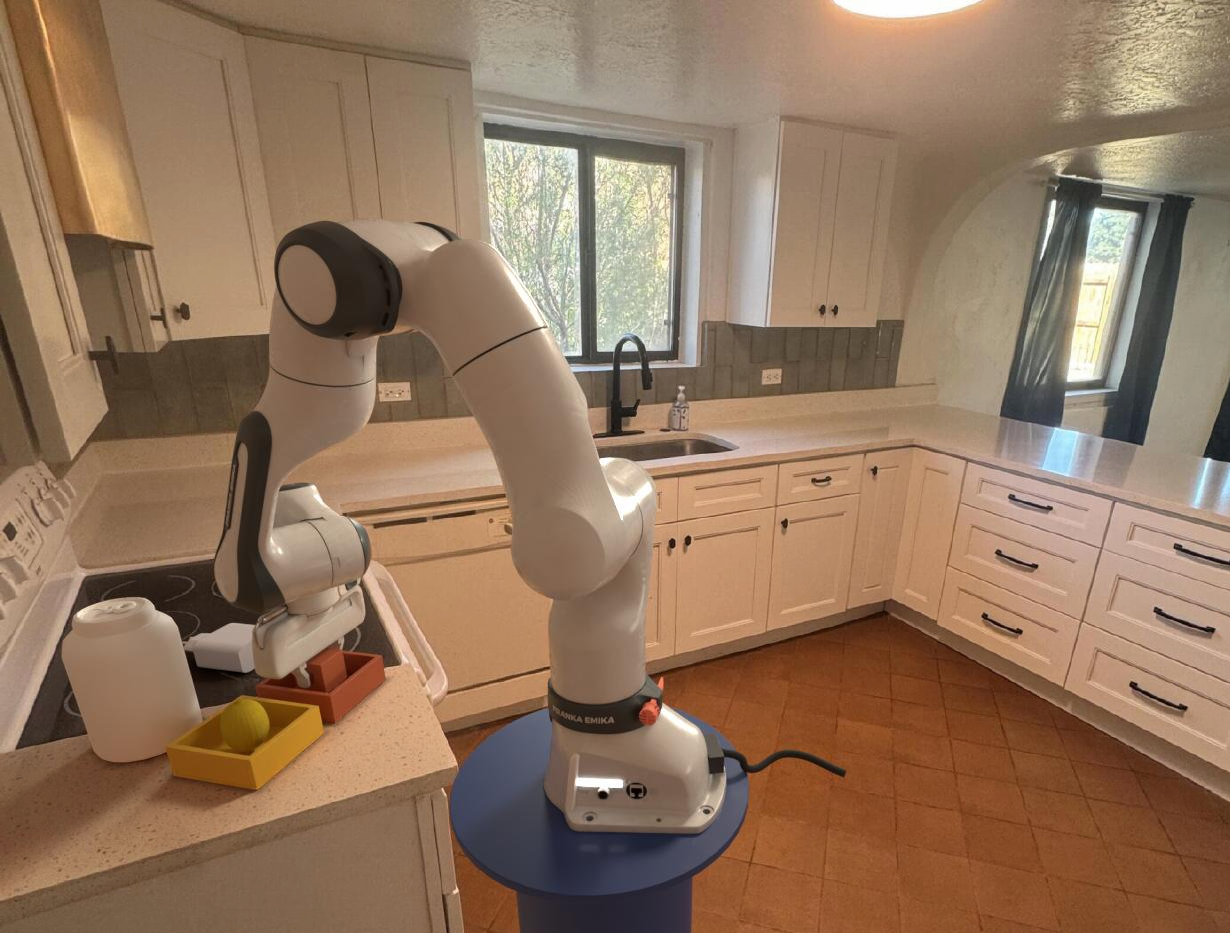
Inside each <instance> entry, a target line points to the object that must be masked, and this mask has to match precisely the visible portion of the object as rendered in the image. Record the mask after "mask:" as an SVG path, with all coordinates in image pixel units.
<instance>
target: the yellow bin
mask: <svg viewBox="0 0 1230 933" xmlns="http://www.w3.org/2000/svg"><path fill="white" fill-rule="evenodd" d="M237 699H250V700H254V701H256V702H258V703H259V704H260V705H261V706H262V707H263V708H264V709H265V711H266V713H267V716H268V719H269V732H268V736H267V738H266V739H265V741H264V742H263V743H262V744H261V745H260V746H258V747H256V748H255V749H254V750H253V751H251V752H249V751H239V750H235V749H233V748H231V747H230V746H228V745H227V744H226V742H225V741H224V739H223V737H222V735H221V731H220V720H221V715H222V713H223V711H224V710H225V708H226V707H227V706H228V705H230V704H231V703H233V702H235V701H236V700H237ZM324 734H325V730H324V726H323V721H322V720H321V715H320V710H319V706H316V705H309V704H302V703H295V702H287V701H280V700H273V699H266V698H259V697H257V696H250V695H244V694H241V695H240V696H238V697H236V698H235V699H234V700H232V701H231V702H229V703H228V704H226V705H225V706H223V707H222V708H221V709H219V710H218V711H216V712H214V713H213V714H212V715H210V716H208V717H207V718H206V719H204V720H203V721H202V722H201V723H200V724H198V725H197V726H195V727H194V728H192V729H191V730H189V731H188V732H186V733H185V734H184V735H182V736H181V737H179V738H178V739H176V740H175V741H173V742H172V743H170V744H169V745H167V746H166V747H165V748H166V752H165V753H166V755H167V758H168V762H169V764H170V768H171V772H172V775H173V776H174V777H177V778H184V779H190V780H195V781H202V782H207V783H212V784H217V785H224V786H230V787H235V788H242V789H247V790H253V791H258V790H260V789H261V788H262V787H263V786H264V785H266V784H267V783H268V782H269V781H270V780H271V779H272V778H274V777H275V776H276V775H278V773H280V772H281V771H282V770H283V769H284V768H285V767H286V766H288V765H289V764H290V763H291V762H292V761H293V760H294V759H295V758H297V757H298V756H300V754H301V753H302V752H304V751H305V750H306V749H307V748H309V747H310V746H311V745H312V744H313V743H315V741H317V740H318V739H319V738H321V736H323V735H324Z"/></svg>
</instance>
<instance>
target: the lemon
mask: <svg viewBox="0 0 1230 933" xmlns="http://www.w3.org/2000/svg"><path fill="white" fill-rule="evenodd" d="M236 699H237V698H236ZM230 703H231V702H230ZM227 705H228V704H227ZM220 731H221V735H222V737H223V739H224V741H225V742H226V744H227V745H228V746H230V747H231V748H233V749H235V750H239V751H249V752H251V751H253V750H254V749H255V748H256V747H258V746H260V745H261V744H262V743H263V742H264V741H265V739H266V738H267V736H268V732H269V719H268V716H267V713H266V711H265V709H264V708H263V707H262V706H261V705H260V704H259V703H258V702H256V701H254V700H250V699H237V700H236V701H235V702H233V703H231V704H230V705H228V706H227V707H226V708H225V710H224V711H223V713H222V715H221V720H220Z"/></svg>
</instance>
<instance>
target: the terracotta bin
mask: <svg viewBox="0 0 1230 933" xmlns="http://www.w3.org/2000/svg"><path fill="white" fill-rule="evenodd" d="M342 652H343V657H344V663H345V668H346V674H347V678H346V679H345V680H344V681H342V682H341V683H340V684H339V685H337V686H336V687H335V688H334V689H332V690H331V691H330V692H329V693H323V692H316V691H309V690H301V689H297V686H296V681H295V676H294V675H293V674H292V673H291V672H290V673H289V674H288V675H286V676H285V677H283V678H282V679H270V678H264V679H263V680H262V681H261V682H259V683H257V684H256V685H255V686H254V689H255V693H256V697H259V698H266V699H273V700H280V701H287V702H295V703H302V704H309V705H316V706H319V710H320V715H321V720H322V723H323V722H325V723H331V724H336V723H338V722H339V721H340V720H341V719H342V718H343V717H344V716H346V715H347V714H348V713H349V712H351V710H352V709H354V708H355V707H356V706H357V705H358V704H360V703H361V702H362V701H363V700H364V699H365V698H367V697H368V696H369V695H370V694H371V693H372V692H374V691H375V690H376V689H377V688H378V687H379V686H381V685H382V684H384V682H385V681H386V680H387V678H386V672H385V665H384V660H383V655H382V654H376V653H366V652H358V651H350V650H343V649H342Z"/></svg>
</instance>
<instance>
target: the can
mask: <svg viewBox="0 0 1230 933" xmlns="http://www.w3.org/2000/svg"><path fill="white" fill-rule="evenodd" d="M71 628H72V630H70V632H69V633H67V635H66V636H65V637H64V638H63V640H62V644H61V660H62V663H63V666H64V669H65V671H66V672H65V673H66V675H67V677H68V680H69V683H70V687H71V689H72V692H73V696H74V698H75V701H76V704H77V707H78V710H79V712H80V716H81V718H82V722H83V724H84V728H85V730H86V733H87V735H88V739H89V742H90V744H91V747H92V750H93V753H95V755H97V756H98V757H99V758H100V759H101V760H103V761H107V762H110V763H131V762H137V761H142V760H147V759H151V758H153V757H157V756H161V755H163V754H165V753H167V752H166V748H165V747H166V746H167V745H169V744H170V743H172V742H173V741H175V740H176V739H178V738H179V737H181V736H182V735H184V734H185V733H186V732H188V731H189V730H191V729H192V728H194V727H195V726H197V725H198V724H200V723H201V722H203V721H204V720H203V715H202V710H201V708H200V707H201V706H200V703H199V700H198V695H197V693H196V689H195V685H194V681H193V678H192V674H191V670H190V667H189V663H188V659H187V656H186V651H184V648H183V647H184V644H182V637H181V633H180V630H179V627H178V625H177V624H176V622H175V621H174V619H173V618H172V617H171V616H170V615H168V614H167V613H164V612H162V611H159V610H157V609H156V607H155V605H154V604H153V602H152V601H151V600H149V599H147V598H146V597H141V596H140V597H139V596H137V597H136V596H129V597H128V596H126V597H119V598H113V599H107V600H103V601H100V602H97V603H94V604H91V605H89V606H86V607H84V608H81V609H80V610H78V611H77V612H76V613H75V614H74V615H73V617H72V620H71Z"/></svg>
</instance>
